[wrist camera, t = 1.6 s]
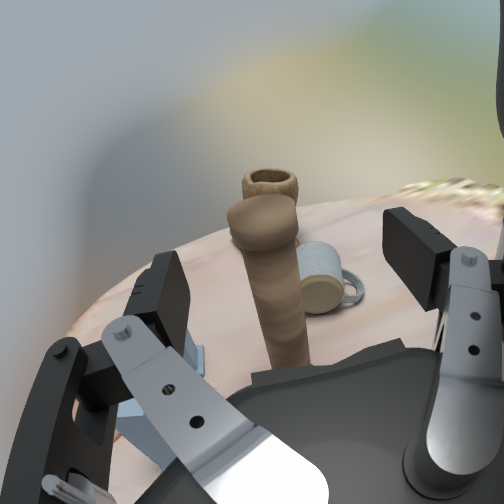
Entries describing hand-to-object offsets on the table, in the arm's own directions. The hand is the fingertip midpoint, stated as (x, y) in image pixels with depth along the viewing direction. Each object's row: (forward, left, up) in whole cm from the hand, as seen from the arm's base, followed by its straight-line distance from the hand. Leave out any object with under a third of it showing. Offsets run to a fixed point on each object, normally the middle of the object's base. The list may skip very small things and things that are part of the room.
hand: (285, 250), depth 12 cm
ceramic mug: (+13, -22, -25) cm, 36 cm away
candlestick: (+8, -7, -24) cm, 27 cm away
